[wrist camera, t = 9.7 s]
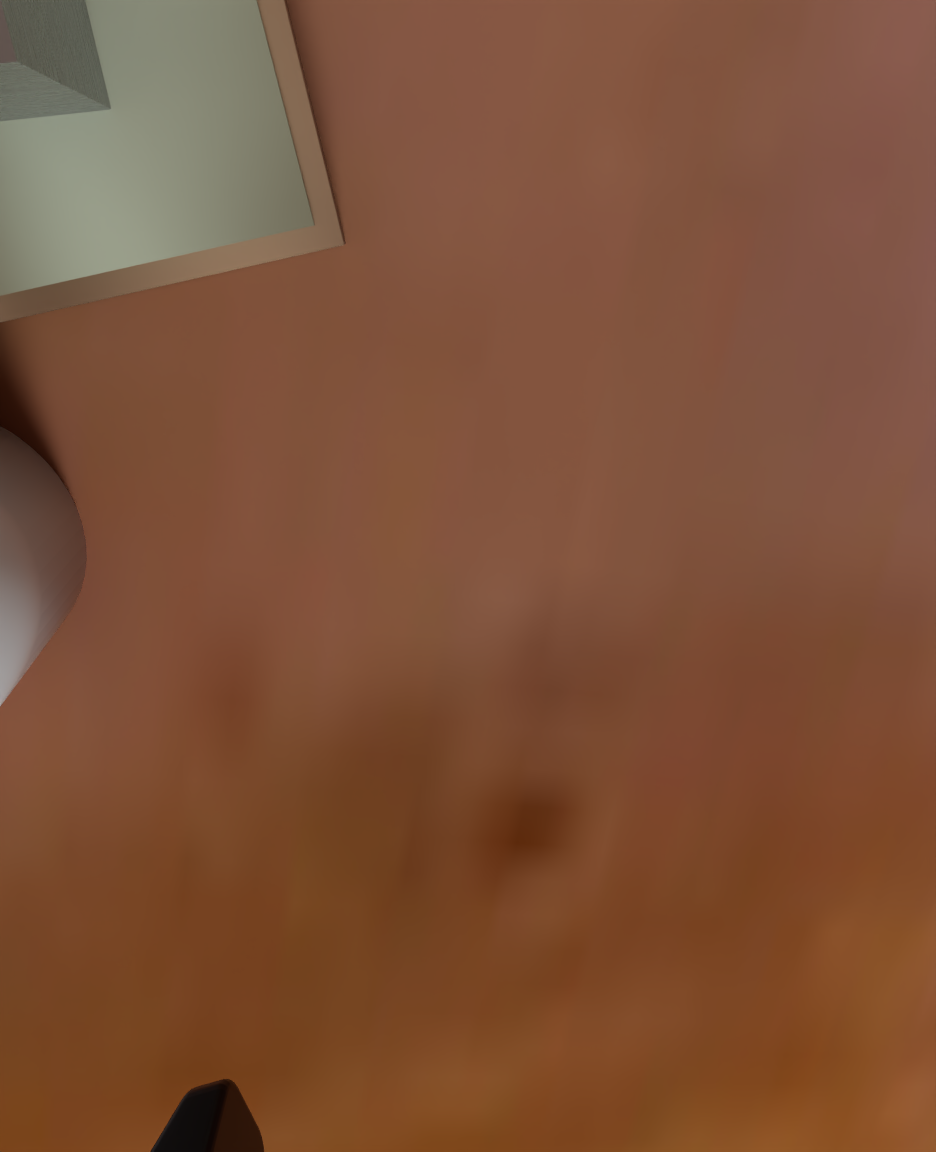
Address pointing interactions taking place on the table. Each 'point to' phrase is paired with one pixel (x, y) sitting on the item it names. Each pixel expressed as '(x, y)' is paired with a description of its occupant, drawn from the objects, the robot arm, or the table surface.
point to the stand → (166, 160)
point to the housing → (48, 60)
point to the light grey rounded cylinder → (34, 557)
